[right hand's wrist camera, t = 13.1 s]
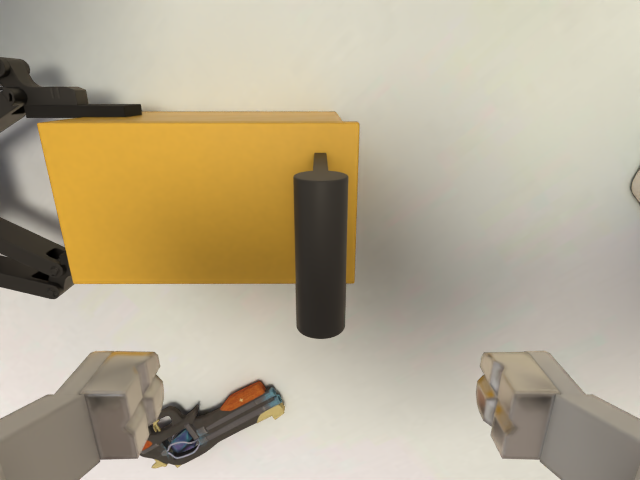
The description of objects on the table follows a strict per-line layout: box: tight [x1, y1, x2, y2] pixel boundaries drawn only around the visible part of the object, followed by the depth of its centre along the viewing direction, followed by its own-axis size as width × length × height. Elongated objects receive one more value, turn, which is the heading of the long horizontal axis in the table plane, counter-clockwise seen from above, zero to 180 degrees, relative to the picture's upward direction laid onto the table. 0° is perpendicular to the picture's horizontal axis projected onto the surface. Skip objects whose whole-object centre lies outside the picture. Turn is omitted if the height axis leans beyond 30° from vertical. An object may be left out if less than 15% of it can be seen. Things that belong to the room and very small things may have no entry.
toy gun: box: [140, 381, 285, 468], centre depth 43 cm, size 3×19×10 cm
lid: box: [37, 122, 359, 339], centre depth 21 cm, size 18×10×9 cm, turn 90°
